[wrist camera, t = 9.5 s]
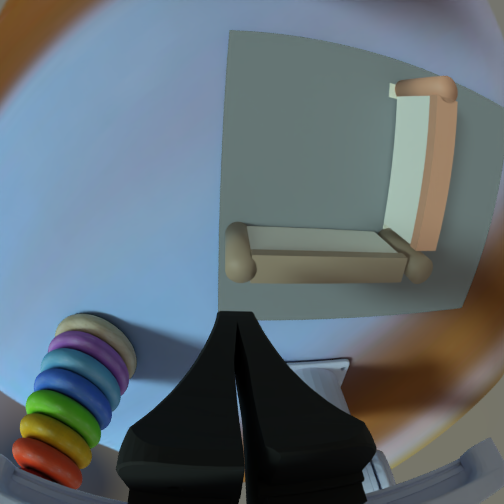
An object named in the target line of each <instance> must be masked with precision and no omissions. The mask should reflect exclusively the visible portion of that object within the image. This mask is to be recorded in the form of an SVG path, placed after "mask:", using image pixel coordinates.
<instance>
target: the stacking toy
mask: <svg viewBox="0 0 504 504" xmlns="http://www.w3.org/2000/svg"><path fill="white" fill-rule="evenodd" d="M136 365H137V360H136V354H135V351H134V348H133V346H132V344H131V343H130V341H129V340H128V338H127V337H126V336H125V335H124V334H123V333H122V332H121V331H120V330H119V329H118V328H117V327H115V326H114V325H113V324H111V323H110V322H108V321H106V320H104V319H102V318H100V317H97V316H94V315H90V314H74V315H71V316H69V317H67V318H65V319H64V320H63V321H62V322H61V323H60V324H59V326H58V327H57V330H56V333H55V338H54V339H53V340H52V341H51V343H50V345H49V349H48V353H47V354H46V355H45V357H44V358H43V360H42V363H41V373H40V374H39V375H38V376H37V377H36V380H35V383H34V392H33V393H32V394H31V395H30V396H29V397H28V399H27V402H26V411H27V415H26V416H24V417H23V419H22V420H21V423H20V431H21V434H22V437H23V438H19V439H18V440H16V441H15V443H14V444H13V448H12V452H13V456H14V458H15V460H16V461H17V463H18V464H19V465H20V466H21V467H22V468H19V469H22V470H24V471H26V472H29V473H31V474H33V475H36V476H38V477H41V478H43V479H46V480H49V481H51V482H54V483H57V484H60V485H63V486H66V487H69V488H72V489H75V490H76V489H77V488H79V486H80V485H81V483H82V474H81V471H80V469H83V468H85V467H87V466H88V465H89V464H90V462H91V458H92V453H91V450H90V449H91V448H93V447H95V446H96V445H97V444H98V443H99V441H100V438H101V430H103V429H105V428H106V427H107V426H108V425H109V423H110V421H111V418H112V411H114V410H115V409H116V408H117V406H118V405H119V402H120V398H121V396H122V395H123V394H124V392H125V391H126V389H127V387H128V384H129V379H130V378H131V377H132V376H133V374H134V372H135V370H136Z"/></svg>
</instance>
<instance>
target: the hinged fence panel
mask: <svg viewBox="0 0 504 504" xmlns="http://www.w3.org/2000/svg"><path fill="white" fill-rule="evenodd" d="M395 93H396V96H397V110H396V126H395V139H394V150H393V160H392V169H391V177H390V185H389V192H388V199H387V205H386V212H385V218H384V224H385V225H387V226H388V227H389V228H391V229H392V230H393V231H394V232H396V233H397V234H398V235H399V236H401V237H402V238H403V239H404V240H406V241H407V242H408V243H409V244H410V247H412V248H413V249H414V250H415V251H436V247H437V243H438V239H439V235H440V231H441V226H442V222H443V217H444V212H445V207H446V202H447V196H448V191H449V185H450V178H451V171H452V164H453V156H454V147H455V136H456V124H457V104H458V102H457V101H456V99H457V96H458V90H457V86H456V84H455V82H454V81H453V80H452V79H451V78H450V77H448V76H435V77H424V78H415V79H406V80H400V81H398V82H397V83H396V85H395Z"/></svg>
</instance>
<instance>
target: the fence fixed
mask: <svg viewBox="0 0 504 504" xmlns="http://www.w3.org/2000/svg"><path fill="white" fill-rule="evenodd" d="M432 270H433V263H432V261H431V260H430V259H429V258H428V257H427V256H426V255H424V254H423V253H422V252H421V251H415V250H414V249H413V248H412V247H410V244H409V243H408V242H407V241H406V240H404V239H403V238H402V237H401V236H399V235H398V234H397V233H396V232H394V231H393V230H392V229H391V228H386V229H382V230H381V231H380V232H379V233H378V234H376V233H375V232H373V231H355V230H335V229H314V228H290V227H262V226H247V225H246V224H244V223H242V222H233V223H231V224H230V225H229V226H228V227H227V229H226V232H225V272H226V275H227V277H228V278H229V279H230V280H232V281H233V282H236V283H246V282H248V281H250V283H268V284H337V283H396V282H401V280H402V277H403V274H405V275H406V276H407V277H408V278H409V280H410V281H411V282H412V283H414V284H421V283H423V282H424V281H426V280H427V279H428V278H429V276H430V275H431V273H432Z"/></svg>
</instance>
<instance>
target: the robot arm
mask: <svg viewBox="0 0 504 504" xmlns="http://www.w3.org/2000/svg"><path fill="white" fill-rule="evenodd" d="M349 364H350V363H349V360H348V359H338V360H327V361H313V362H296V363H286V362H285V361H284V360H283V359H282V357H281V356H280V355H279V353H278V352H277V351H276V349H275V348H274V347H273V345H272V344H271V342H270V341H269V339H268V338H267V336H266V335H265V333H264V331H263V330H262V328H261V326H260V325H259V323H258V321H257V319H256V317H255V314H254V313H253V312H252V311H219V312H218V313H217V317H216V321H215V324H214V327H213V329H212V331H211V334H210V336H209V338H208V340H207V342H206V344H205V346H204V348H203V349H202V351H201V353H200V354H199V356H198V358H197V359H196V361H195V362H194V364H193V365H192V367H191V368H190V370H189V371H188V372H187V374H186V375H185V376H184V378H183V379H182V380H181V381H180V382H179V384H178V385H177V386H176V387H175V388H174V389H173V390H172V392H171V393H170V394H169V395H168V396H167V397H166V398H165V399H164V400H163V401H161V402H160V403H159V404H158V405H157V406H156V407H155V408H154V409H153V410H152V411H151V412H149V413H148V414H147V415H145V416H144V417H143V418H142V419H140V420H139V421H138V422H136V423H135V424H134V425H132V426H131V427H130V428H129V430H128V432H127V434H126V436H125V438H124V440H123V442H122V445H121V448H120V451H119V455H118V461H117V466H116V471H117V473H118V475H119V476H120V477H121V479H122V480H123V481H124V483H125V484H126V485H127V486H128V488H129V496H128V502H122V501H118V500H113V499H109V498H105V497H100V496H96V495H93V494H89V493H86V492H82V491H79V490H75V489H72V488H69V487H66V486H63V485H60V484H57V483H54V482H51V481H49V480H46V479H43V478H41V477H38V476H36V475H33V474H31V473H29V472H26V471H24V470H22V469H19V468H17V467H15V466H14V464H13V463H12V462H11V461H10V460H9V459H7V458H6V457H5V456H3V455H2V454H0V504H238V503H239V499H240V495H241V490H242V483H243V477H244V471H245V481H246V501H247V504H479V503H481V502H483V501H484V500H486V499H487V498H488V497H490V496H491V495H493V494H494V493H496V492H497V491H498V490H500V489H501V488H502V487H504V460H503V458H502V456H501V455H500V453H499V451H498V449H497V448H496V446H495V444H494V442H493V441H492V439H491V438H487V439H485V440H484V441H482V442H480V443H478V444H477V445H474V446H473V447H471V448H470V449H468V450H467V451H466V452H465V453H464V454H463V455H462V456H461V457H460V459H458V460H456V461H453V462H451V463H449V464H447V465H445V466H443V467H440V468H438V469H436V470H433V471H431V472H429V473H426V474H424V475H421V476H418V477H416V478H413V479H411V480H408V481H405V482H403V483H399V484H396V483H395V480H394V477H393V474H392V472H391V469H390V466H389V464H388V461H387V459H386V457H385V455H384V453H383V452H382V451H380V450H376V445H375V443H374V440H373V438H372V436H371V434H370V432H369V430H368V428H367V426H366V425H365V423H364V422H363V421H361V420H359V419H357V418H355V417H353V416H351V414H350V412H349V409H348V406H347V404H346V401H345V398H344V396H343V393H342V390H341V388H340V387H341V385H342V382H343V380H344V377H345V375H346V372H347V369H348V367H349ZM342 367H343V368H342ZM235 378H236V384H235ZM236 385H237V392H238V398H239V404H240V411H241V417H242V426H243V443H244V453H243V445H242V438H241V431H240V423H239V415H238V405H237V396H236ZM244 461H245V465H244Z"/></svg>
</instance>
